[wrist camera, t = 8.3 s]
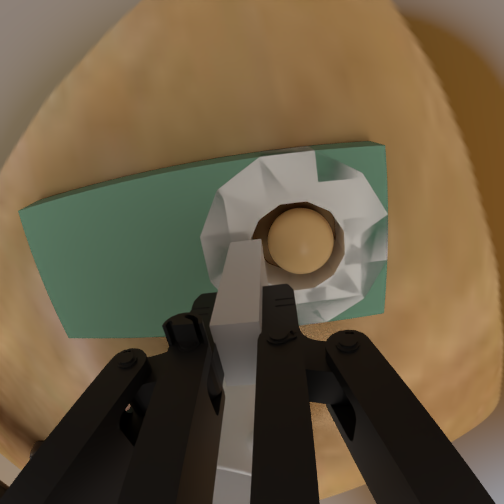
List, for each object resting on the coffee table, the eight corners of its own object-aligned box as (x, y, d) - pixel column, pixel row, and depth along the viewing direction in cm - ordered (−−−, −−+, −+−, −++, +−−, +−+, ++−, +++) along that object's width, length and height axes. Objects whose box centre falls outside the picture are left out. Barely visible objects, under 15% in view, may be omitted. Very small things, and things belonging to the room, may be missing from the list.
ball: (264, 285, 17) (331, 289, 17) (263, 227, 15) (339, 231, 15) (271, 247, 20) (328, 251, 20) (271, 195, 18) (334, 198, 18)
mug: (335, 350, 23) (364, 474, 13) (232, 418, 27) (221, 521, 17) (251, 282, 21) (241, 420, 11) (153, 371, 24) (115, 479, 15)
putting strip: (82, 319, 23) (68, 338, 20) (39, 200, 19) (18, 211, 16) (372, 292, 21) (383, 313, 18) (369, 141, 17) (384, 145, 14)
